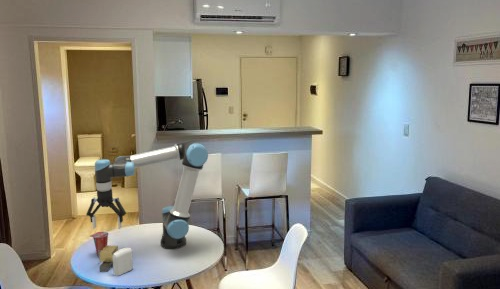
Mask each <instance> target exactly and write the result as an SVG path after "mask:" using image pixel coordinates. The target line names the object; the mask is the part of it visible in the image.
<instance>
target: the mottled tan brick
mask: <svg viewBox="0 0 500 289" xmlns="http://www.w3.org/2000/svg"><path fill="white" fill-rule="evenodd" d="M118 250H119V245H107V246H105V247H104V248H103V249H102V251H101V252H100V256H99V262H102V263H103V262H113V258H112V255H113V254H114V253H115V252H117V251H118Z"/></svg>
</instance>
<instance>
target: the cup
mask: <svg viewBox="0 0 500 289" xmlns="http://www.w3.org/2000/svg"><path fill="white" fill-rule="evenodd" d="M89 237H91V238H92V239H93V242H94V247H95V252H96V256H97V257H100V252H101V251H102V249H103V248H104V247H105V246H108V240H109V239H108V238H109V232H107V231H98V232H94V233H92V234H91V235H89Z"/></svg>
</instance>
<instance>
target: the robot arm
mask: <svg viewBox="0 0 500 289" xmlns="http://www.w3.org/2000/svg"><path fill="white" fill-rule="evenodd" d="M208 158H209V152H208V150H207V148H206V147H205V146H204V145H203V144H202V143H200V142H199V141H197V140H192V139H191V140H187V141H183V142H178V143H174V145H173V146H167V147H163V148H160V149H155V150H150V151H145V152H140V153H136V154H132V155H127V156H123V155H121V156H118V157H116V158H115V159H114V162H113V163H112V162H111V161H110V160H109V159H104V158H103V159H99V160H96V161H95V163H94V175H95V181H96V182H95V184H96V196H97V198H96V197H92V199H91V201H90V204H89V207H88V210H87V212H86V216H89V218H90V222H91V223H92V229H93V230H94V229H96V228H97V220H96V219H97V218H96V217H97V216H96V215H95V214H96V213H97V212H98V210H99V209H100V208H101V207H102V208H110V209H112V211H113V212H114V213H115V214H116V215H117V226H118V230H120V229H121V228H122V227H123V226H122V223H123V222H124V218H123V217H124V216H126V214H127V212H126V210H125V209H124V207H123V204H122V203H121V202H120V198H119V197H116V198H113V189H112V188H113V186H112V179H114V178H122V177H132V176H134V175H136V174H135V169H137V168H141V167H146V166H150V165H156V164H159V163H160V164H161V163H164V162H169V161H175V160H178V161H180V160H182V162H181V166H182V167H183V170H182V173H181V178H180V182H179V185H178V188H177V193H176V197H175V200H174V203H173V205H169V206H164V207H163V208H162V209H161V215H162V216H161V217H162V235H161V238H160V247H161V248H163V249H167V250H175V249H181V248H183V247H184V246H186V245H187V237H186V235H187V234H188V233H189V229H190V226H189V221H190V217H191V214H190V213H189V210H190V208H191V207H190V206H191V202H192V200H193V196H194V192H195V189H196V188H195V187H196V184H197V180H198V176H199V173H200V172H201V171H202V170H203V168H204V165H205V164H206V162H207V161H208ZM96 202H97V203H98V204H97V205H96V207H95V208H94V206H95V204H96Z"/></svg>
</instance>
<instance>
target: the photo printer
mask: <svg viewBox="0 0 500 289" xmlns="http://www.w3.org/2000/svg"><path fill="white" fill-rule="evenodd" d="M112 258H113V265H112V267H113V275H114V276H116V277H118V276H120V275H123V274H125V273H127V272H130V271H131V270H133V269H134V263H133V261H134V260H133V251H132V249H131V248H130V247H124V248H121V249H118V251H117V252H115V253H114V254H113V255H112Z"/></svg>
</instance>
